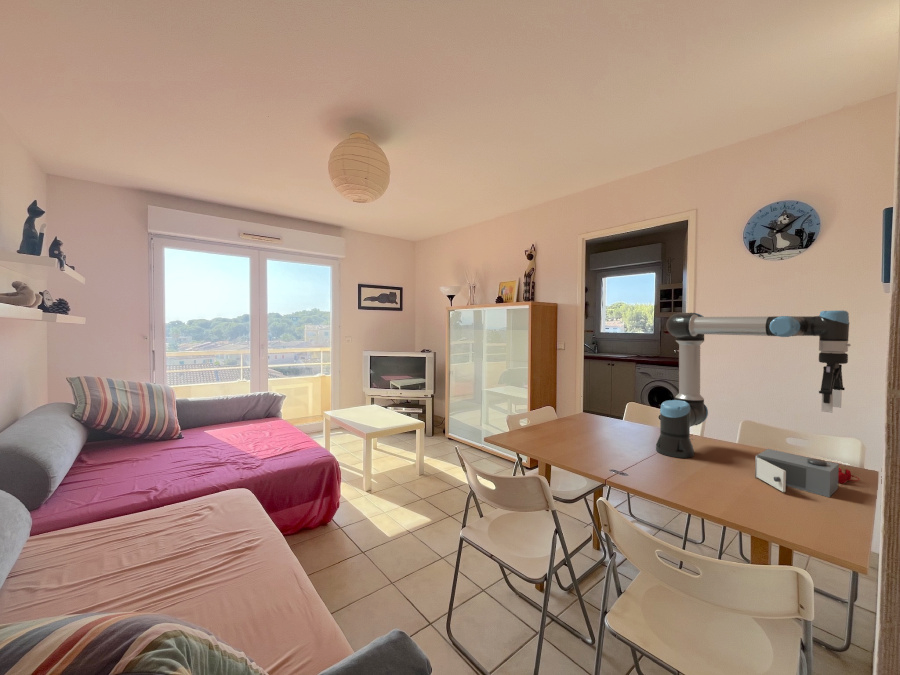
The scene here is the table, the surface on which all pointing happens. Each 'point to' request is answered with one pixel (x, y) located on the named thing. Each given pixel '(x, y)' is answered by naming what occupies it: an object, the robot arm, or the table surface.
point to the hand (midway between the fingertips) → (831, 409)
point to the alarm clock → (845, 476)
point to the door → (770, 474)
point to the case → (805, 472)
